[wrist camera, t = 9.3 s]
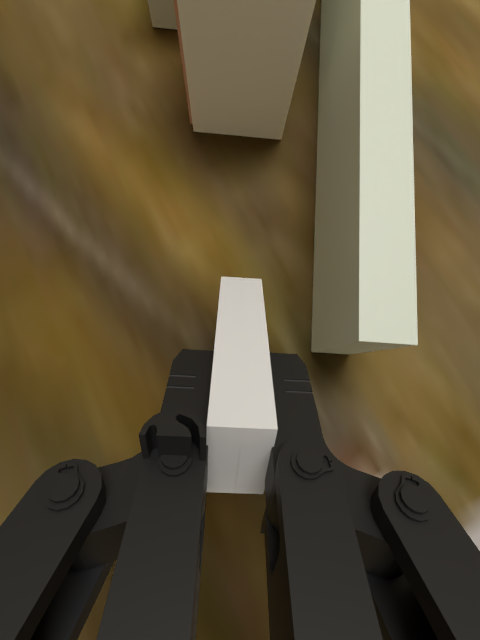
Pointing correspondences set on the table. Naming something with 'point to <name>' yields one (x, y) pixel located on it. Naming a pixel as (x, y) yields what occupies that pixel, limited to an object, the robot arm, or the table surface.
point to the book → (241, 62)
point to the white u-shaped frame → (360, 177)
